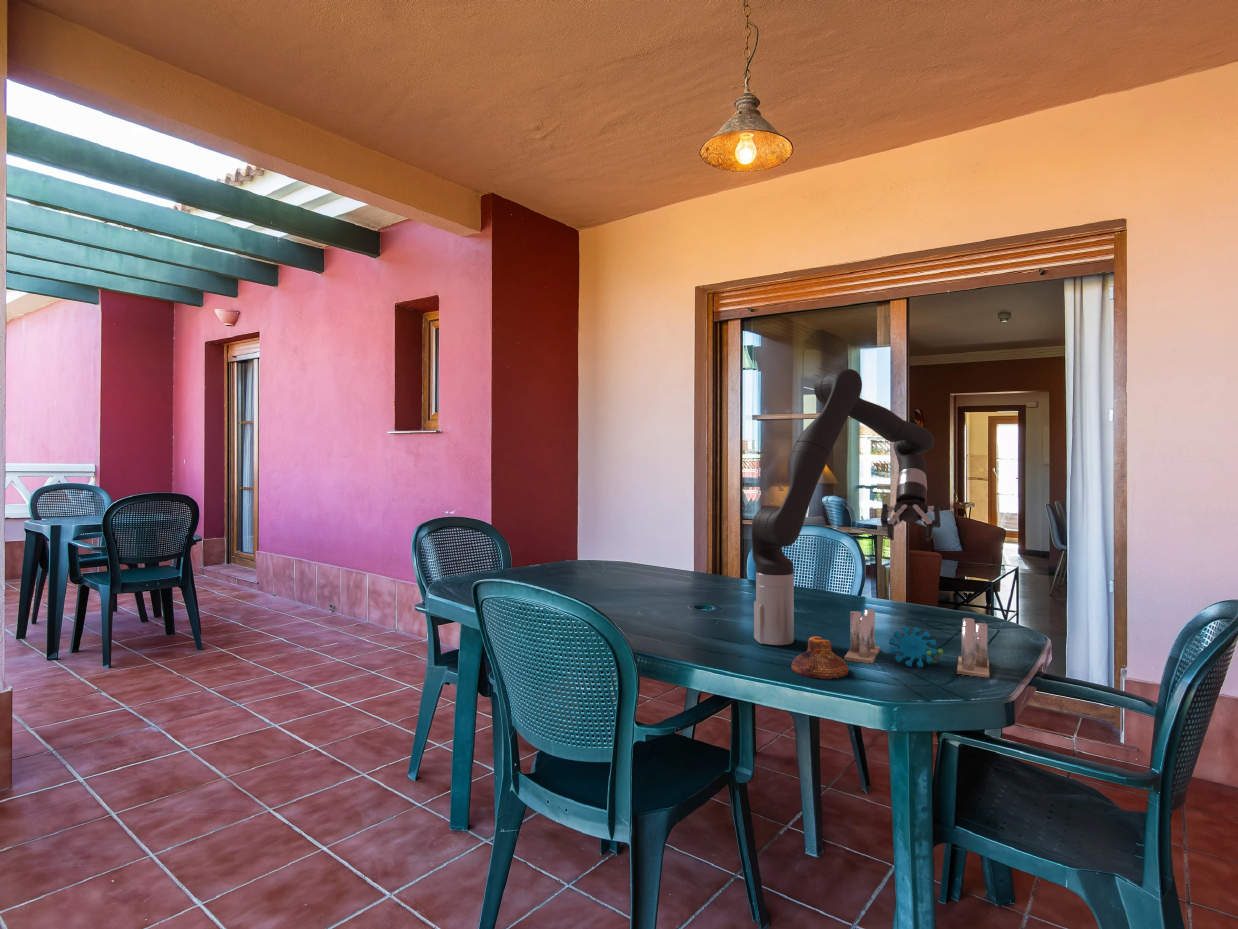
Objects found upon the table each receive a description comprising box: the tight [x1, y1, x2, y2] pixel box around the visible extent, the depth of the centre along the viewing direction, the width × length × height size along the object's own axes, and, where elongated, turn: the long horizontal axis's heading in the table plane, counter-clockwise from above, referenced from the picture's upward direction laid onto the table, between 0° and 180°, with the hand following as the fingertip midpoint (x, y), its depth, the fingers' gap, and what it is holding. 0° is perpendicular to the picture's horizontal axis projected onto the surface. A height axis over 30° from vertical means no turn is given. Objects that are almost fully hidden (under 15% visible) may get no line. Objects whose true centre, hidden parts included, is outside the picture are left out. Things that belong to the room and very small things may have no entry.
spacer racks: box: [843, 645, 990, 678], centre depth 156 cm, size 13×29×1 cm, turn 62°
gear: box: [888, 626, 944, 668], centre depth 156 cm, size 11×6×10 cm
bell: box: [790, 636, 849, 680], centre depth 150 cm, size 12×12×7 cm
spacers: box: [849, 608, 988, 671], centre depth 156 cm, size 10×28×9 cm, turn 62°
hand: (909, 538), depth 178 cm, fingers open, 8 cm apart
